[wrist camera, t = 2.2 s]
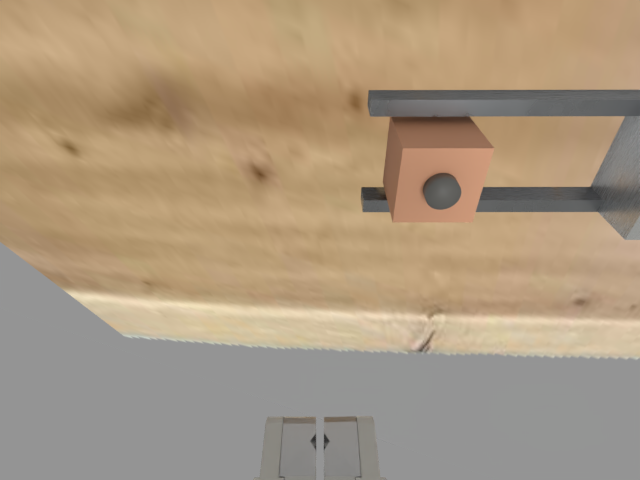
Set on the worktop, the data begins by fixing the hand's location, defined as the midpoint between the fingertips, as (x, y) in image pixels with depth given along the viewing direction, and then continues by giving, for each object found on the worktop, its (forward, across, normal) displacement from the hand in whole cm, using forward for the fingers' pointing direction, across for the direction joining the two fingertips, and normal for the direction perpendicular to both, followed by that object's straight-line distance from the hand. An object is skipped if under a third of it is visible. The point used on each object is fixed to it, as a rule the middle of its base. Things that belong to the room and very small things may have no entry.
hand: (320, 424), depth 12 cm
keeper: (+19, +7, 0) cm, 20 cm away
